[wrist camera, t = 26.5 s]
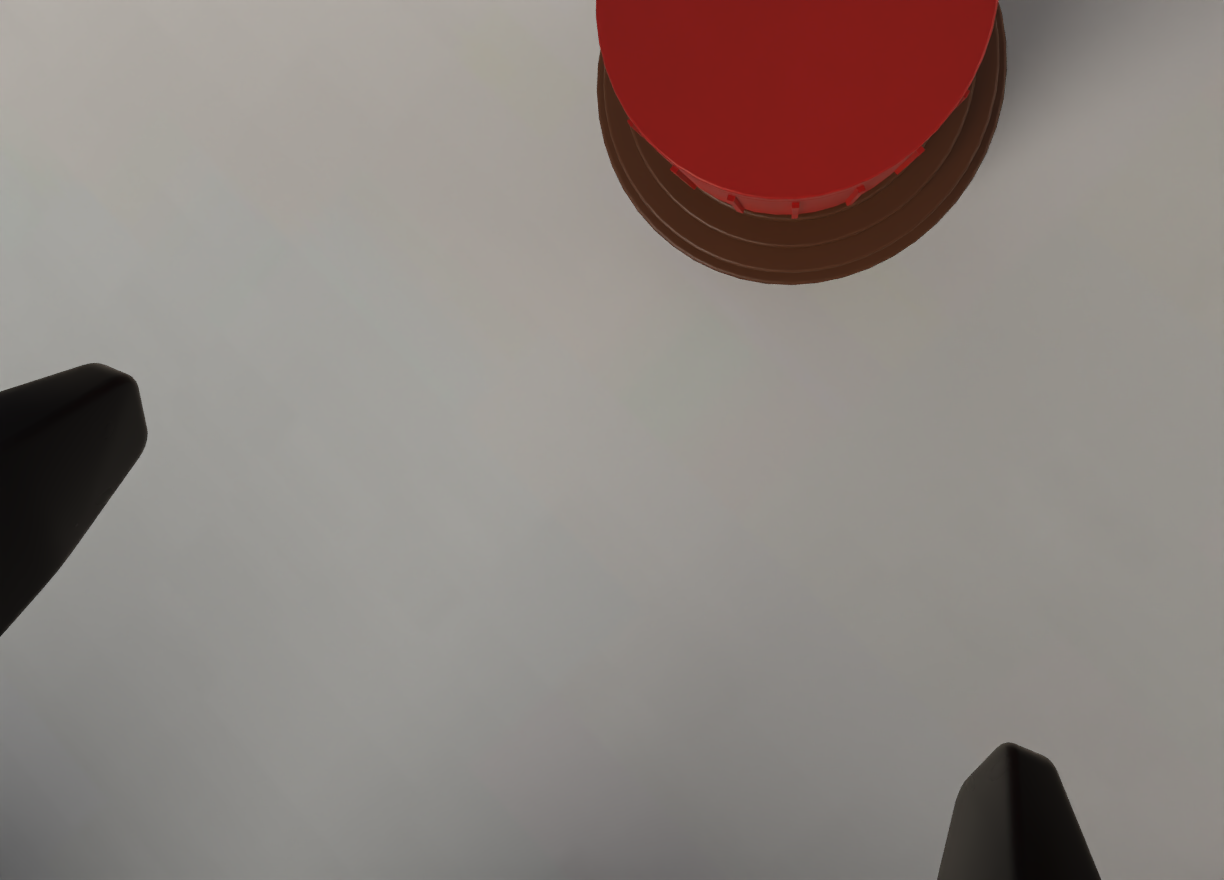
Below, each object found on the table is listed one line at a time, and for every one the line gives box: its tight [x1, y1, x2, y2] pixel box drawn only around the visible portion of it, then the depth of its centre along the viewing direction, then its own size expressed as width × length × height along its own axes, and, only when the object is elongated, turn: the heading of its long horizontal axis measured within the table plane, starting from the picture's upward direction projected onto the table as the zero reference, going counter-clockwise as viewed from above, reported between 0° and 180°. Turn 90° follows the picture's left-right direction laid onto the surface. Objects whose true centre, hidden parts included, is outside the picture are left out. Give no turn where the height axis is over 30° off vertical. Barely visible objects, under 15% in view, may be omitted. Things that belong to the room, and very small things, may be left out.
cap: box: [596, 0, 998, 219], centre depth 11 cm, size 4×4×3 cm
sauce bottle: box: [597, 2, 1007, 285], centre depth 16 cm, size 6×6×11 cm
